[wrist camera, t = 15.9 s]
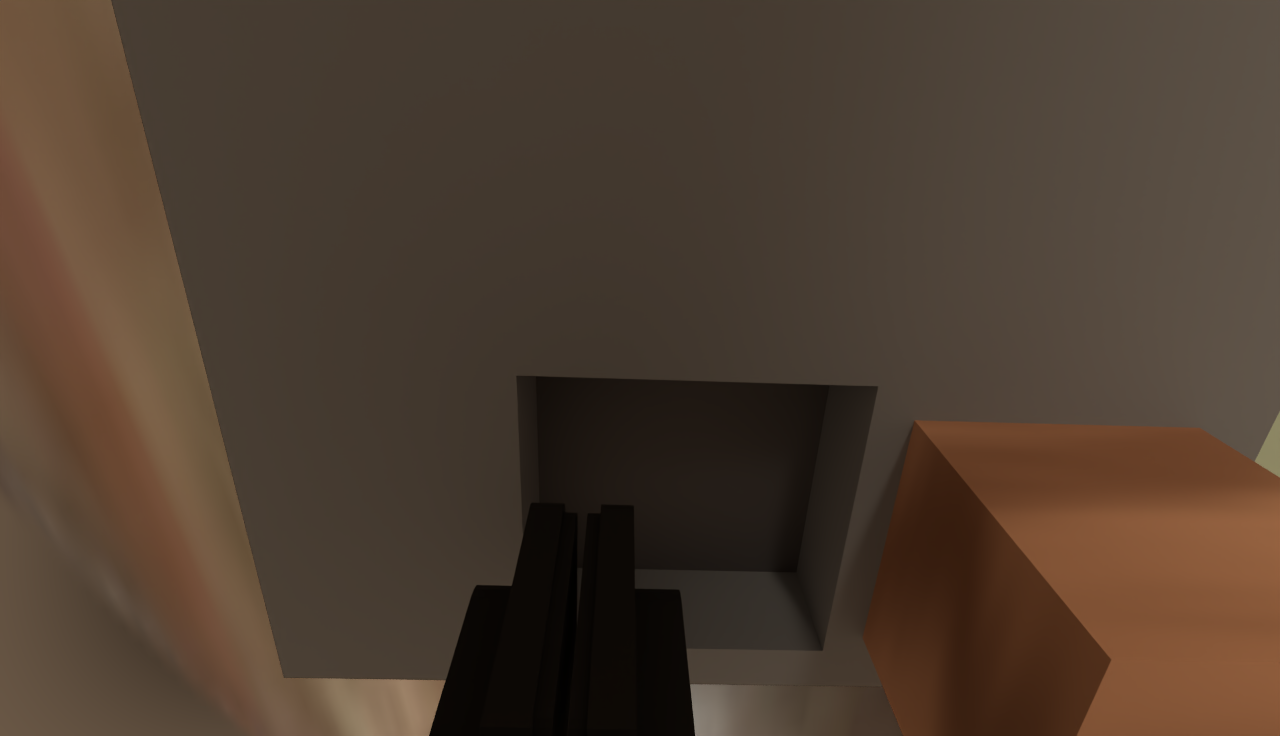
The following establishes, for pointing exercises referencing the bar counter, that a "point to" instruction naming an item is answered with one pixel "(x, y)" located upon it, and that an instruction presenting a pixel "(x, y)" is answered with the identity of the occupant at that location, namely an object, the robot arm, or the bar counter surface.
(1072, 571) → the block
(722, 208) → the deck
